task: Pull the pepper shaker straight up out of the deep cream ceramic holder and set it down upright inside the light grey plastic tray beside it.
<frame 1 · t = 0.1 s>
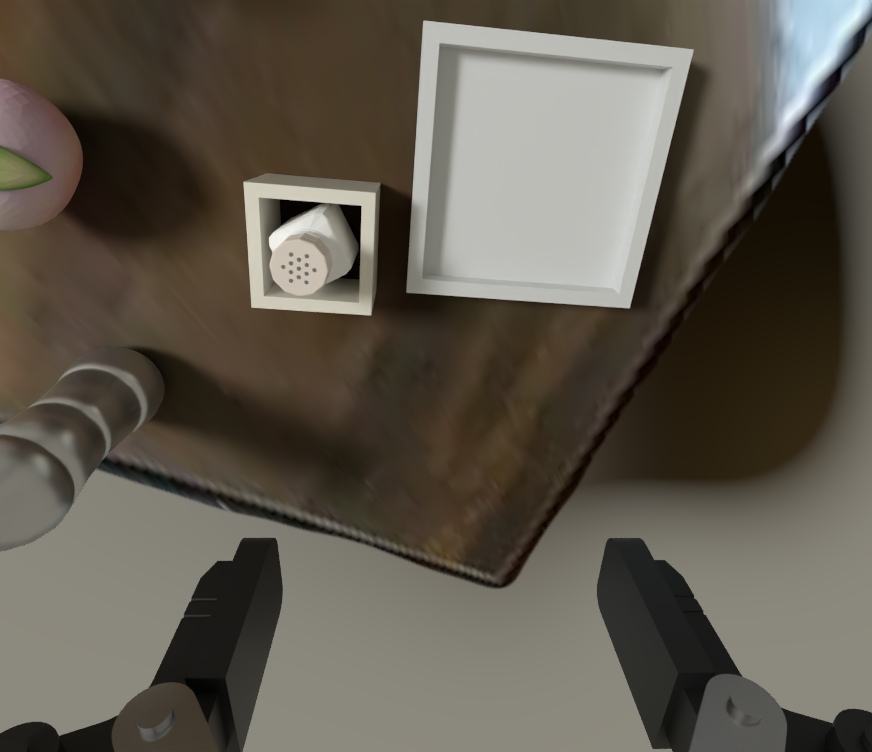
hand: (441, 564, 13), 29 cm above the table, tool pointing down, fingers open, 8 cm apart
decorative fruit: (46, 151, 35), on the table
pepper shaker: (324, 234, 38), resting in holder
tray: (530, 177, 37), on the table
plastic bottle: (131, 374, 42), on the table
holder: (324, 235, 38), on the table
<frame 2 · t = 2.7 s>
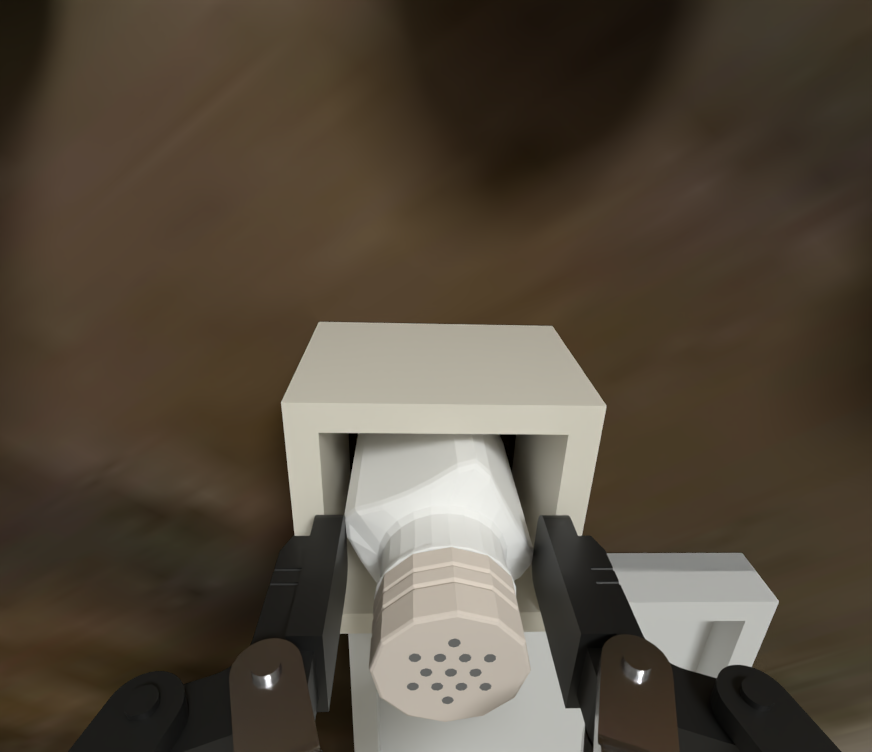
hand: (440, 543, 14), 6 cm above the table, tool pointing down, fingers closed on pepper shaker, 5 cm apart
pepper shaker: (432, 422, 19), resting in holder, touching gripper
tray: (530, 683, 25), on the table
holder: (433, 425, 19), on the table
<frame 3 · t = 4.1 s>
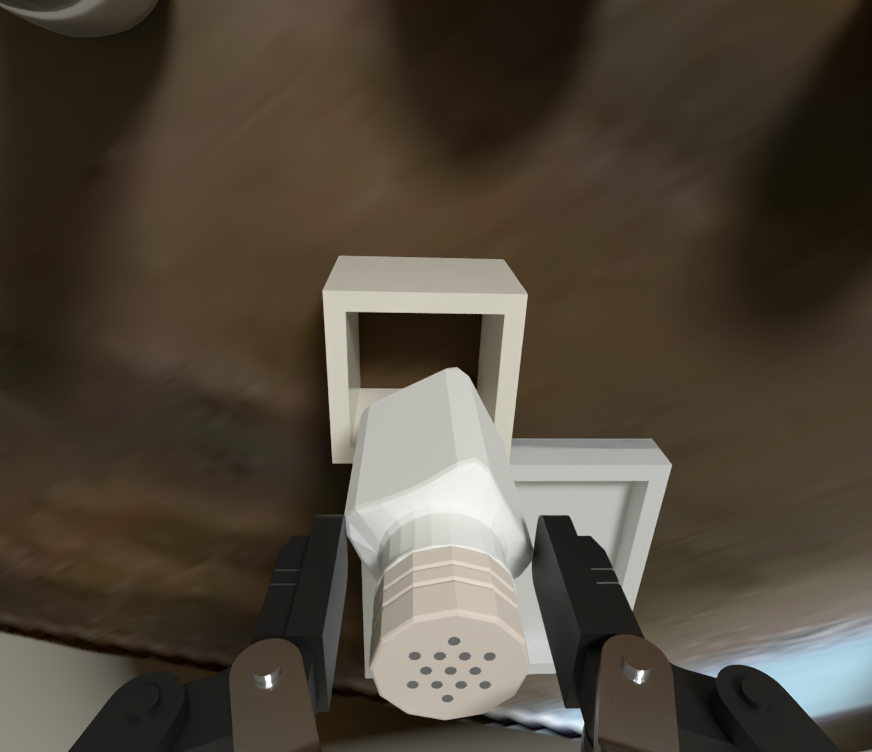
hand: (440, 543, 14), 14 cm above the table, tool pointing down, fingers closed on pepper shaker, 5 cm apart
pepper shaker: (432, 421, 19), point 8 cm above the table, touching gripper
tray: (497, 550, 33), on the table
holder: (420, 334, 27), on the table
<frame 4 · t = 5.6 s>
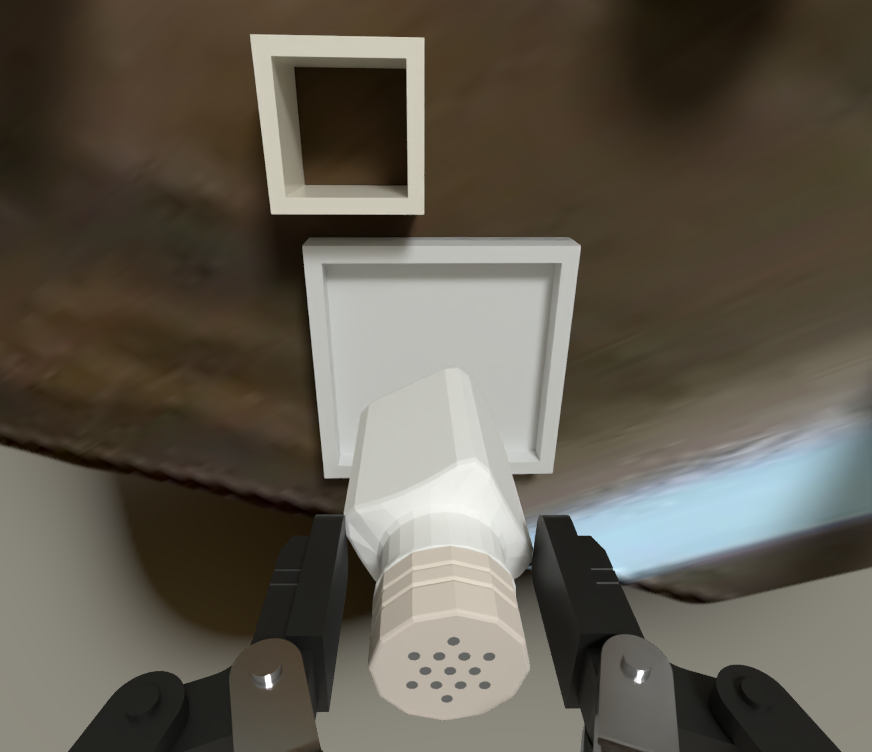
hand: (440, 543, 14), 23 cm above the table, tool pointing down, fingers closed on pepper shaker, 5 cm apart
pepper shaker: (432, 421, 19), point 17 cm above the table, touching gripper
tray: (439, 356, 37), on the table
holder: (353, 129, 30), on the table
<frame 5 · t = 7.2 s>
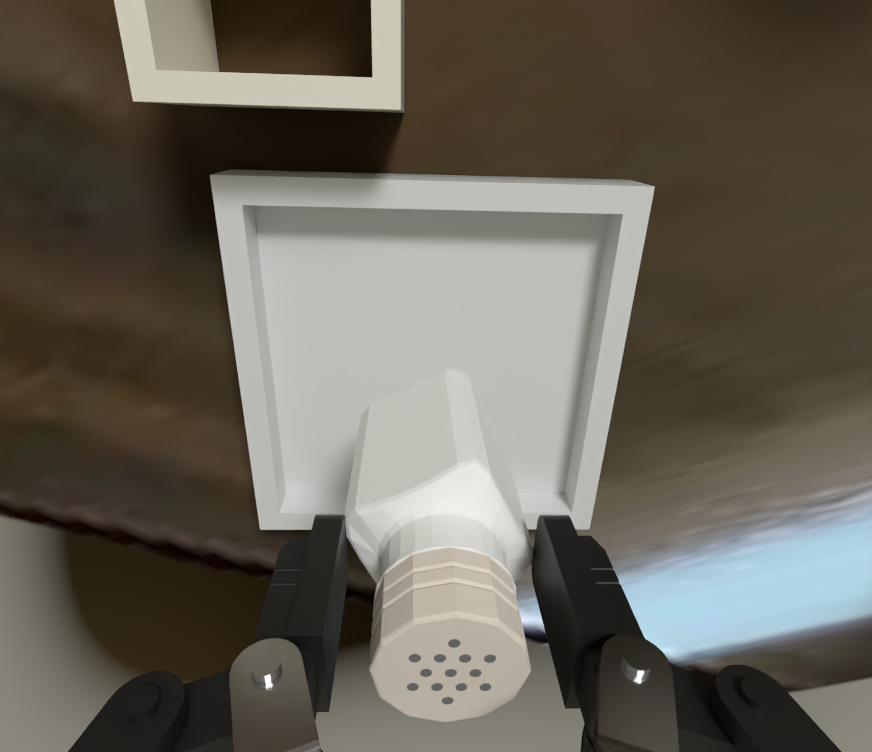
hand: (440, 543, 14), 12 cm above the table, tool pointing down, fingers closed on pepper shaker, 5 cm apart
pepper shaker: (432, 422, 19), point 6 cm above the table, touching gripper
tray: (429, 357, 25), on the table
when the fingers open (8 cm above the table, at t = 8.5 s): pepper shaker stays where it is, resting on tray.
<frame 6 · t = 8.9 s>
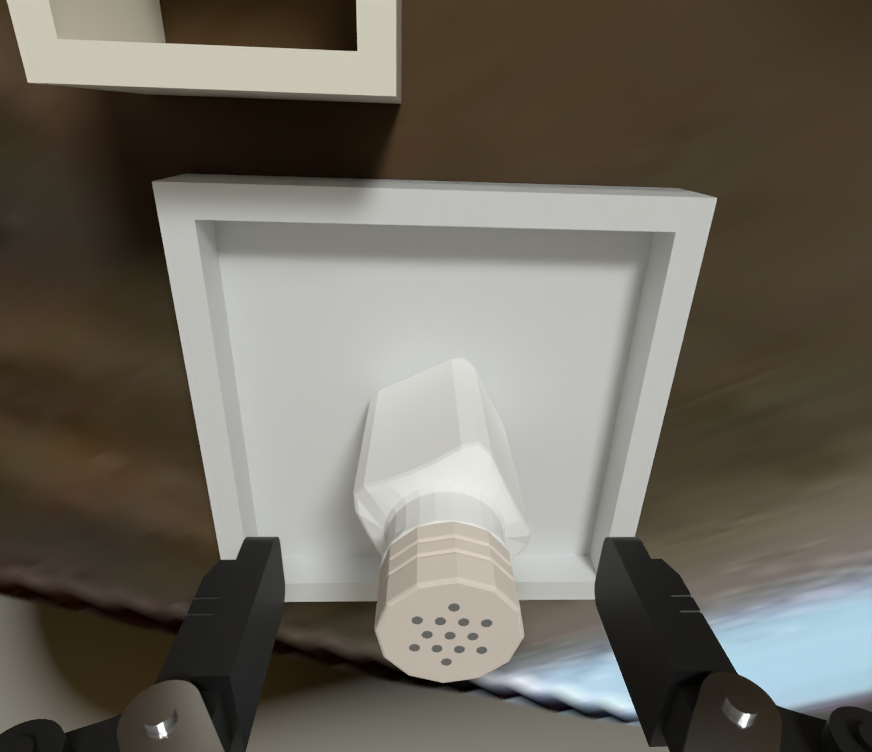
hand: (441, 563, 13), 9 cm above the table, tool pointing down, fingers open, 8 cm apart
pepper shaker: (438, 409, 20), point 1 cm above the table, touching tray
tray: (431, 399, 21), on the table
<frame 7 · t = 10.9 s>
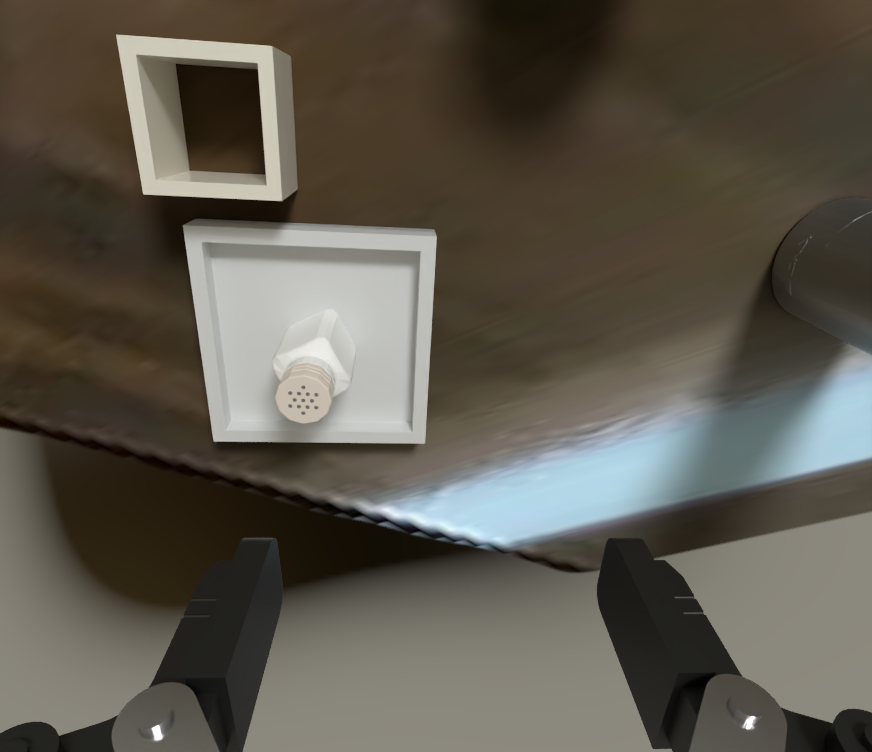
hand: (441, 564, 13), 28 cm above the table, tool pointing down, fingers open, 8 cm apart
pepper shaker: (323, 337, 39), point 1 cm above the table, touching tray
tray: (321, 333, 40), on the table
holder: (232, 122, 34), on the table
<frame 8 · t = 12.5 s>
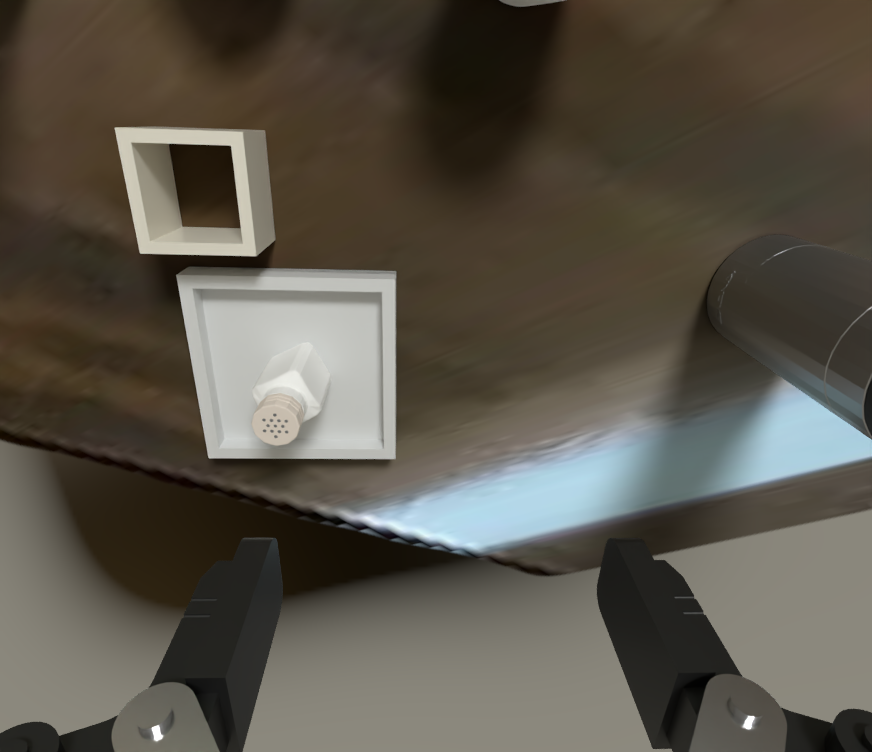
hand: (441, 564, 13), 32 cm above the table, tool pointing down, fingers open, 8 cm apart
pepper shaker: (302, 366, 45), point 1 cm above the table, touching tray
tray: (301, 362, 45), on the table
holder: (217, 185, 39), on the table
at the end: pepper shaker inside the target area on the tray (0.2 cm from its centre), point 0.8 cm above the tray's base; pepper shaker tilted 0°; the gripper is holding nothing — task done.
